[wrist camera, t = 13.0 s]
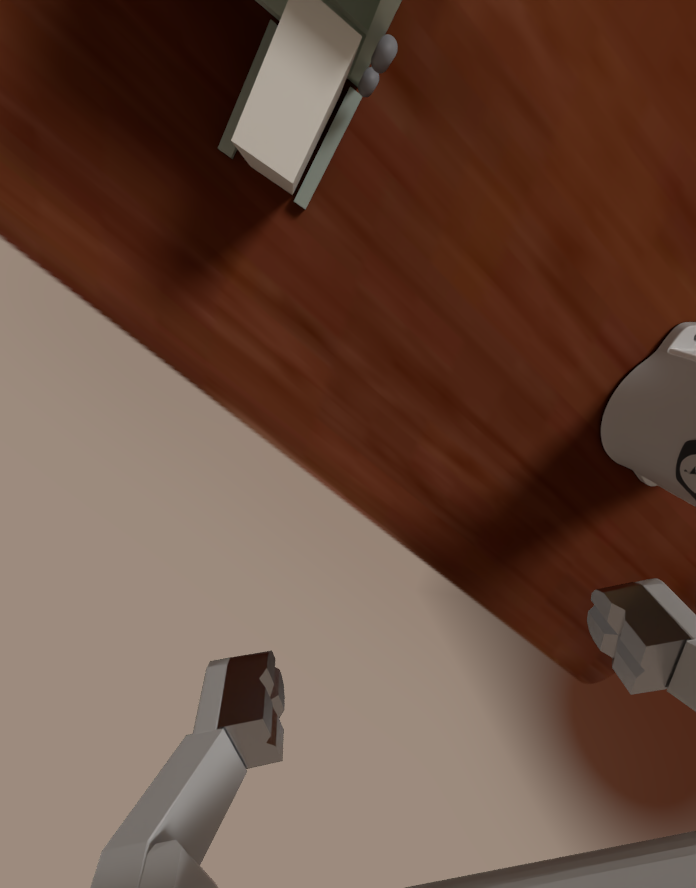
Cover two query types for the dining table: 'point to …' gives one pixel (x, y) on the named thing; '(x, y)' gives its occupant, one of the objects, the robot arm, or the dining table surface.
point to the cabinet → (369, 13)
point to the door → (295, 91)
